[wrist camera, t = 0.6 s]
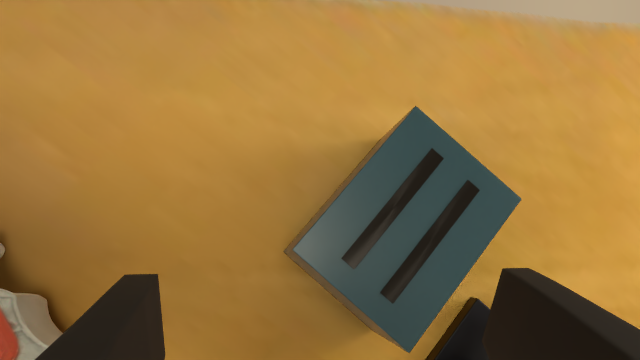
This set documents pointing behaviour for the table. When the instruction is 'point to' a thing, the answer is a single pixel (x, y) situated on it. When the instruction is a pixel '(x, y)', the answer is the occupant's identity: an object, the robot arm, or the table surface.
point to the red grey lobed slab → (24, 325)
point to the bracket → (464, 335)
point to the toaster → (404, 229)
